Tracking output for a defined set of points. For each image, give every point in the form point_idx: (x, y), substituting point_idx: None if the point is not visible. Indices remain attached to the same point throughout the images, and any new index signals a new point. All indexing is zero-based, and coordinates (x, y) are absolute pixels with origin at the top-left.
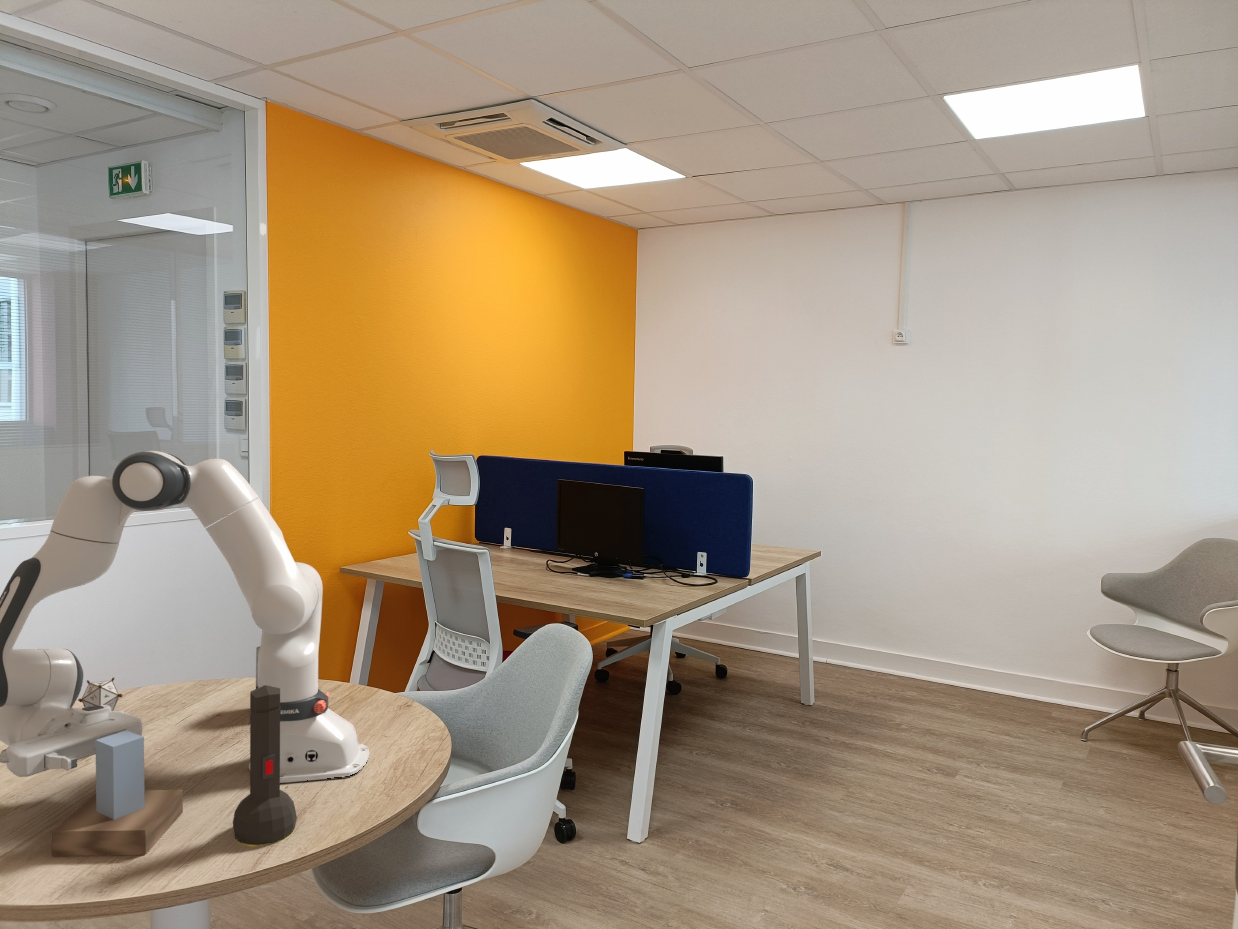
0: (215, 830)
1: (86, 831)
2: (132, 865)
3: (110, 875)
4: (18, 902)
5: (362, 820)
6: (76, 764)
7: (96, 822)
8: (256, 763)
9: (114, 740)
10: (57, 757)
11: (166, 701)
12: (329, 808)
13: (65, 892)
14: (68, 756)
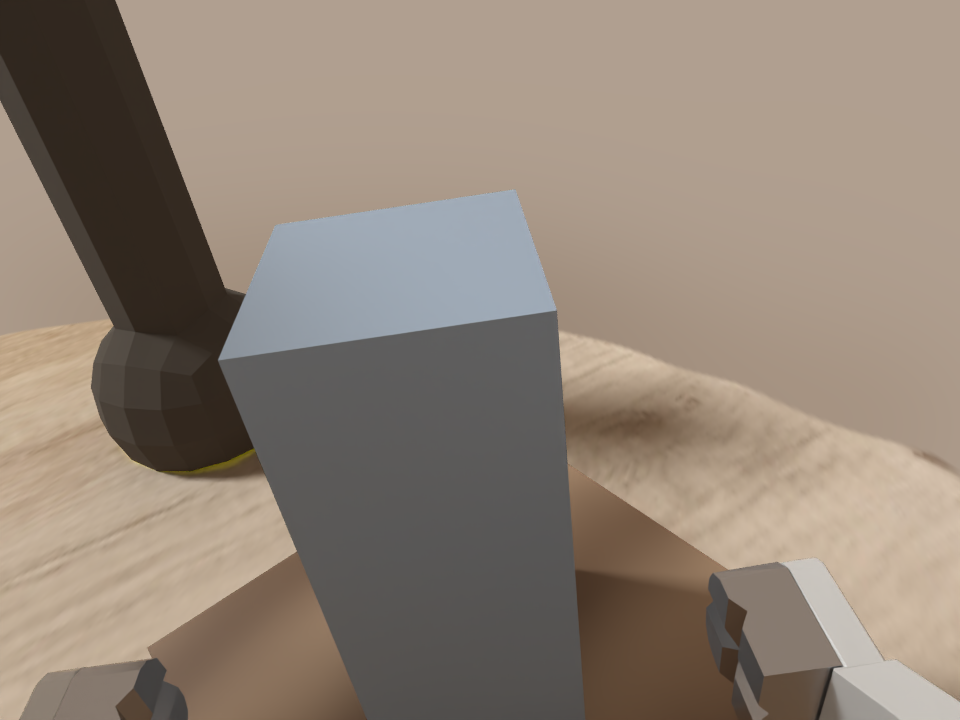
0: (272, 494)
1: (690, 547)
2: (571, 464)
3: (646, 453)
4: (944, 478)
5: (82, 338)
6: (715, 608)
7: (628, 592)
8: (176, 166)
9: (445, 247)
10: (949, 699)
11: None
12: (28, 413)
13: (789, 447)
14: (802, 643)
